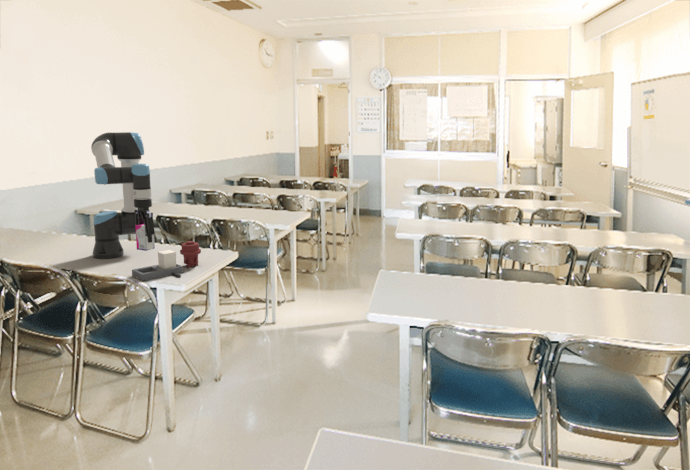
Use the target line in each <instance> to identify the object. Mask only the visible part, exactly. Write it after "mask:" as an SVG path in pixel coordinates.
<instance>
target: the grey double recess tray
mask: <svg viewBox="0 0 690 470" xmlns="http://www.w3.org/2000/svg"><path fill="white" fill-rule="evenodd" d="M157 258H158V259H157V260H158V264H155V265H149V266H144V267H139V268H133V269H132V268H131V275H132V276H131V277H134V278H136V277H137V278H136V279H138V278H139V279H138V280H140V281H142V282H145V281H149V280H154V279H158V278H163V277H169V276H176V277H178V278H181V277H182V275H181V274H183V273H184V266H182V265H180V264H177V254H176V251H173V250H171V249H167V250H160V251H157Z"/></svg>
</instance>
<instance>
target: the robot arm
mask: <svg viewBox="0 0 690 470" xmlns="http://www.w3.org/2000/svg"><path fill="white" fill-rule="evenodd" d="M142 139H143V138H142V136H141V134H140V133H138V132H131V131H130V132H127V131H125V132H124V131H123V132H105V133H102V134H100V135H98V136H96V137H95V139H94V140H93V141H92V142H91V153H92V155H94V157H95V161H96V166H97V167H95V168H94V171H93V172H94V173H93V174H94V181H95V182H94V183H96V185H117V184H119V185H121V184H122V196H123V198H122V199H123V208H122V207H121V212H120V213H118V212H117V211H116V210H108V211H107V210H106V211H102V212H99V213H96V214H94V216H93V224H92V225H93V228H94V240H95V241H94V246H93V248H92V249H93V250H92V257H93V258H94V259H100V260H101V259H114V258H118V257H122V256H124V255H125V252H124V248H123V246H122V244H121V242H120V236H126V235H136V227H135V225H139V224H144V226H145V230H146V235H145V236H146V249H147V251H150V250H149V249H151V250H153V241H152V235H153V234H154V235H155V233H156V232H155V226H154V213H153V212H150V208H151V207H152V206H153V203H152V202H153V201H152V188H151V171H150V165H149V164H148V163H139V162H140V161H141V160H142V156H144V155H145V150H144V149H145V148H144V143H143V140H142ZM113 156H117V160H118V161H119V162H120V166H119V167H118V166H116V164H115V161H114V157H113Z"/></svg>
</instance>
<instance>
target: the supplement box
mask: <svg viewBox="0 0 690 470" xmlns="http://www.w3.org/2000/svg"><path fill="white" fill-rule="evenodd" d="M135 227H136V234H135V240H136V241H135V242H136V250H139V251H144V252H145V251H146V252H147V251H150V250H153V249H155V248H156V247H155V245H156V244H155V234H153V235H152V241H153V249H149V250H147V249H146V236H145V235H146V230H145V226H144V224H139V225H135Z"/></svg>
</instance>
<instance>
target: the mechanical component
mask: <svg viewBox="0 0 690 470" xmlns="http://www.w3.org/2000/svg"><path fill="white" fill-rule="evenodd" d="M201 253H202V250H201V248H200V243H199V242H196V241H193V240H188V241H186V242H183V243H181V249H180V250H179V254H180V255H181V256H182V257H183V264H184V265H186V267H187V268H191V267H196V266H199V255H200V254H201Z"/></svg>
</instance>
